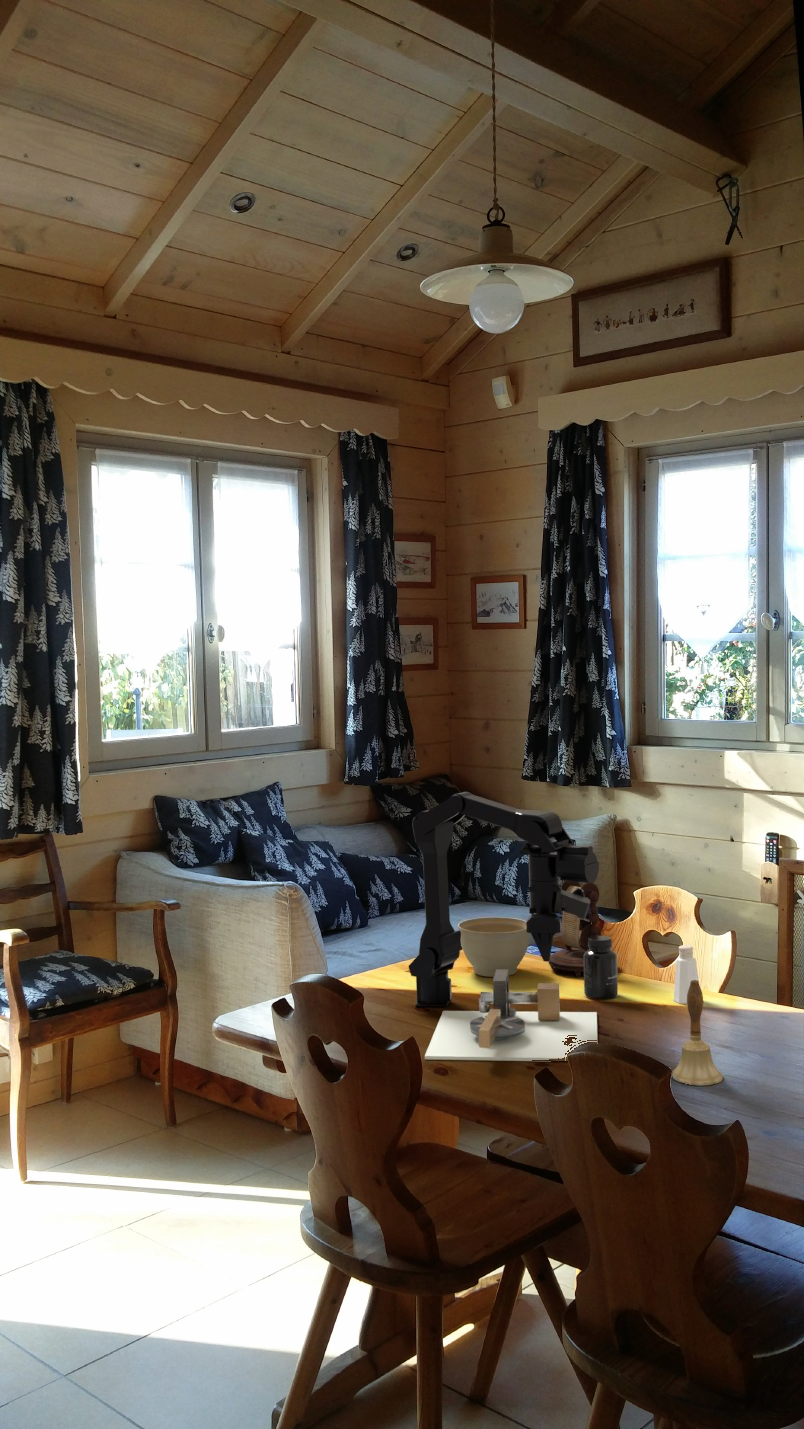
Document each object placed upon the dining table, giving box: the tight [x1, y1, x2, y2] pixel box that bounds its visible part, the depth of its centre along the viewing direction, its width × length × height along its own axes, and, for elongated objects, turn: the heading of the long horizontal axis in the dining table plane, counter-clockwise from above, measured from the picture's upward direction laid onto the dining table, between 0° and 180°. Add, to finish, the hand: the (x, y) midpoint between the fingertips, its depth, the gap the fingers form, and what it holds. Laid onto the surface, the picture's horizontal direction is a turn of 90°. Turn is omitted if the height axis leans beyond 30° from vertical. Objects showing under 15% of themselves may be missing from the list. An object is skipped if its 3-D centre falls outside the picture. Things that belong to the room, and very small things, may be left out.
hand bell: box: [672, 980, 724, 1087], centre depth 195 cm, size 8×8×16 cm
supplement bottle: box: [583, 935, 619, 1001], centre depth 244 cm, size 7×7×12 cm
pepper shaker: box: [673, 944, 700, 1005], centre depth 238 cm, size 5×5×11 cm
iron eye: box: [492, 969, 516, 1016], centre depth 229 cm, size 4×10×8 cm, turn 171°
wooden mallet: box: [478, 982, 561, 1020], centre depth 229 cm, size 15×4×6 cm, turn 81°
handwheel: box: [470, 1008, 525, 1048], centre depth 214 cm, size 16×16×4 cm
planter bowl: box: [457, 916, 531, 978], centre depth 265 cm, size 16×16×11 cm
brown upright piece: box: [548, 881, 602, 978], centre depth 265 cm, size 15×15×20 cm
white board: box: [424, 1010, 598, 1062], centre depth 220 cm, size 30×27×2 cm
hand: (546, 960), depth 227 cm, fingers closed
